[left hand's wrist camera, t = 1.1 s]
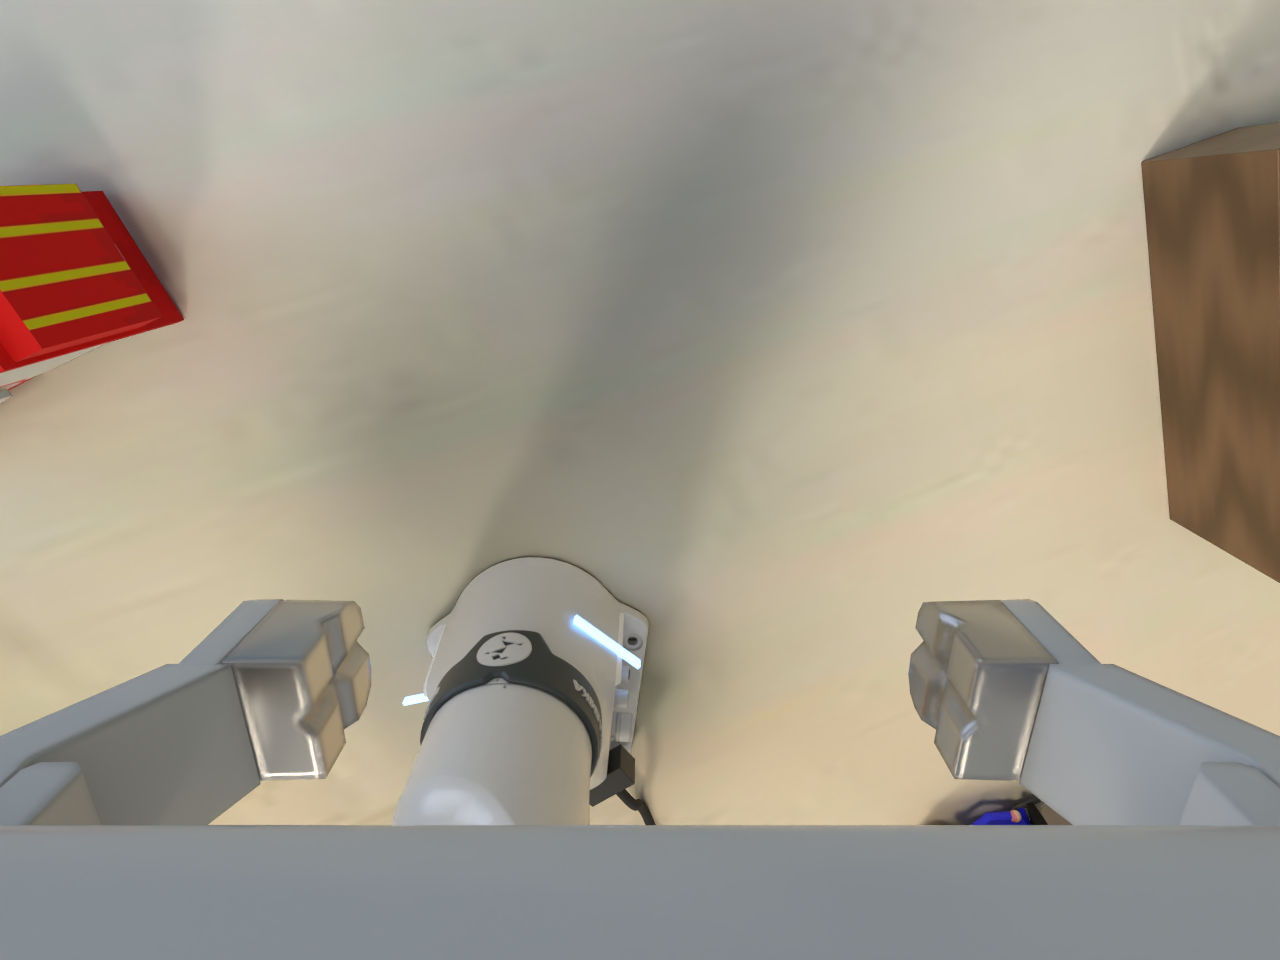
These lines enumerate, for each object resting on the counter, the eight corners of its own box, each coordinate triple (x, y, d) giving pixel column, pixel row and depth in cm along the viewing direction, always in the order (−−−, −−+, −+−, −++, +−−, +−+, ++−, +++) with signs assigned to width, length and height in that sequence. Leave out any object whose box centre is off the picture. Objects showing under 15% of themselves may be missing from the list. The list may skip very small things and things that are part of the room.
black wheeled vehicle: (1045, 764, 66) (899, 822, 66) (1104, 827, 59) (939, 892, 59) (1057, 813, 68) (915, 869, 69) (1115, 880, 61) (956, 942, 62)
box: (1250, 495, 55) (1384, 558, 45) (1169, 519, 55) (1283, 586, 46) (1238, 127, 45) (1404, 104, 35) (1140, 162, 46) (1277, 148, 36)
